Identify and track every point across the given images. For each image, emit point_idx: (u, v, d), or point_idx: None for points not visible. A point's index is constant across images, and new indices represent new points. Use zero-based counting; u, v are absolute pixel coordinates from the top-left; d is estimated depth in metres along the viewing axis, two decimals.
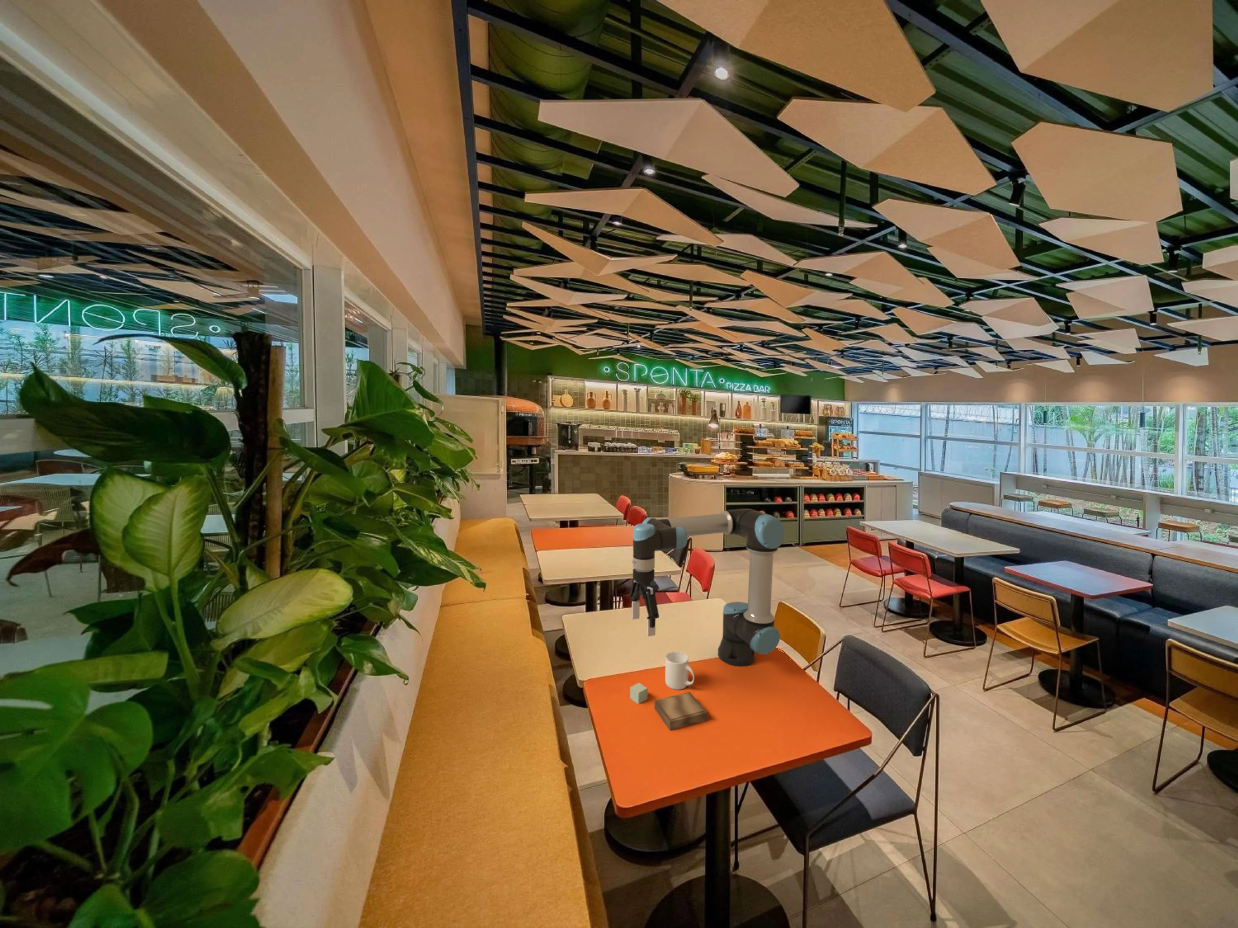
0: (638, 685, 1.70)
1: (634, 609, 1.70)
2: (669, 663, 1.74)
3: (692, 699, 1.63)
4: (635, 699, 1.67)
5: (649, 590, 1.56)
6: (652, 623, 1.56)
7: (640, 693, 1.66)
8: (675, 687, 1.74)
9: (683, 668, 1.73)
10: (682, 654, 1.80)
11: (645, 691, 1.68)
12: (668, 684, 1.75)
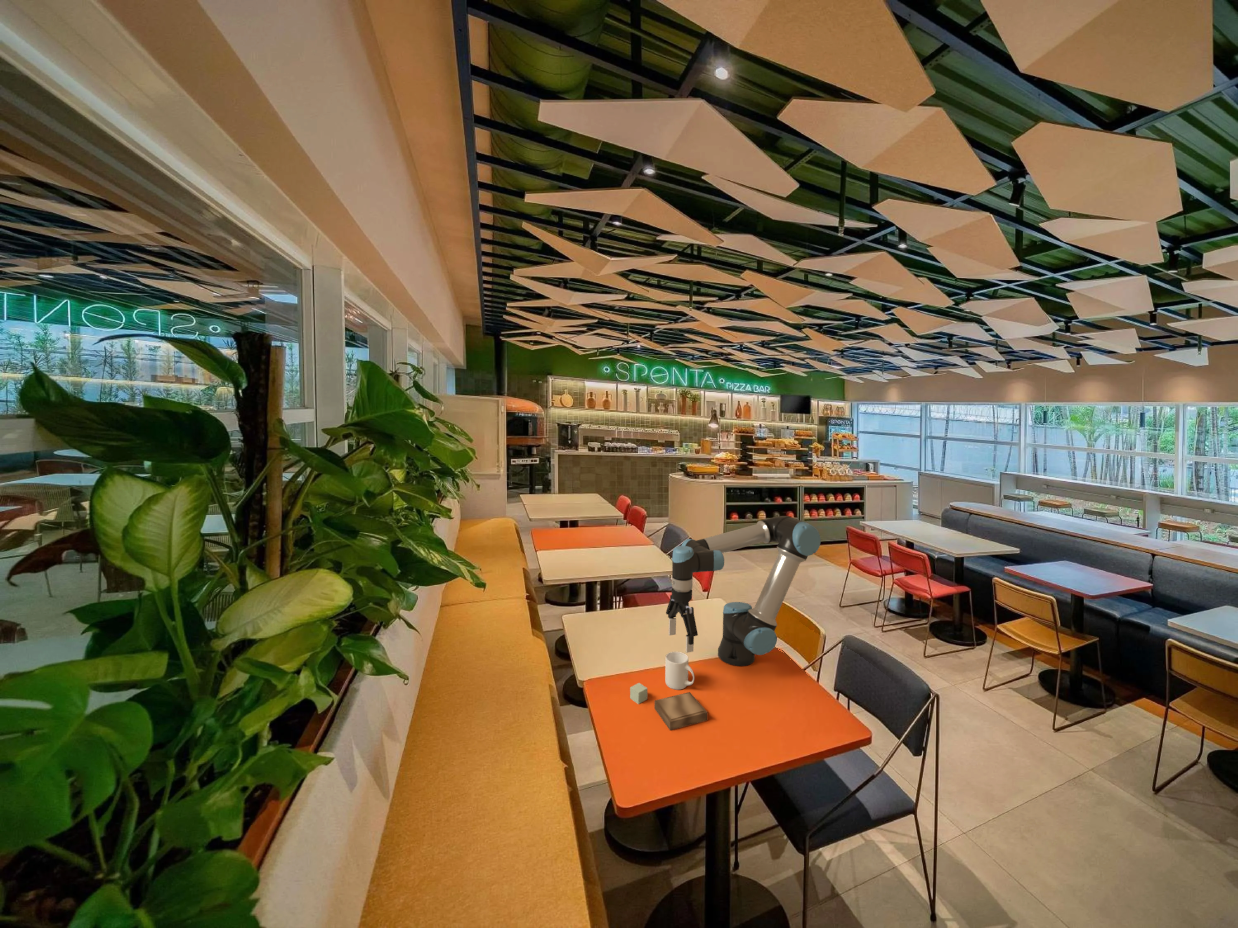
0: (638, 685, 1.70)
1: (671, 625, 1.80)
2: (669, 663, 1.74)
3: (692, 699, 1.63)
4: (635, 699, 1.67)
5: (688, 609, 1.67)
6: (691, 640, 1.66)
7: (640, 693, 1.66)
8: (675, 687, 1.74)
9: (683, 668, 1.73)
10: (682, 654, 1.80)
11: (645, 691, 1.68)
12: (668, 684, 1.75)
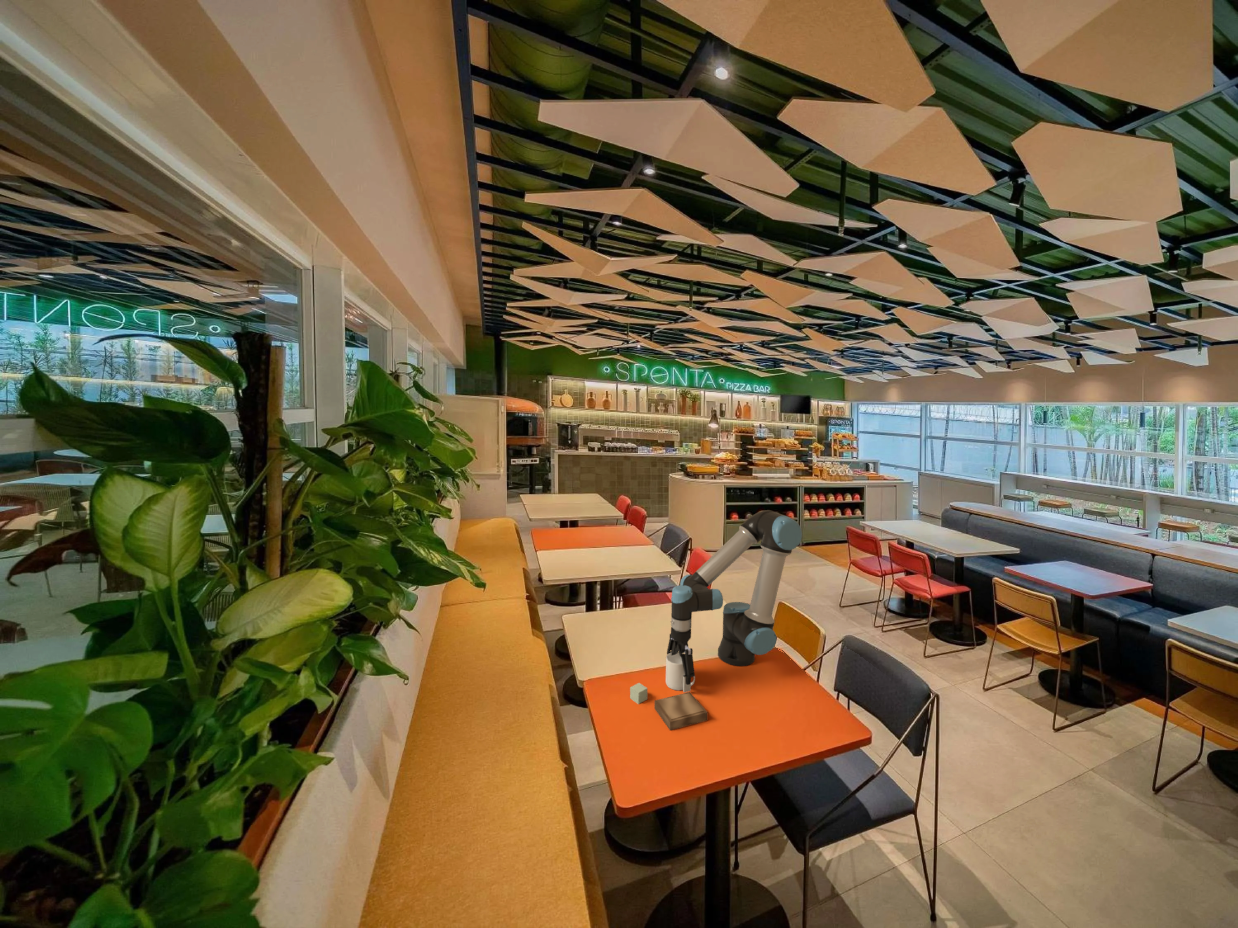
0: (638, 685, 1.70)
1: None
2: (670, 663, 1.73)
3: (692, 699, 1.63)
4: (635, 699, 1.67)
5: (687, 651, 1.68)
6: (688, 680, 1.70)
7: (640, 693, 1.66)
8: (676, 688, 1.73)
9: None
10: None
11: (645, 691, 1.68)
12: (669, 685, 1.75)
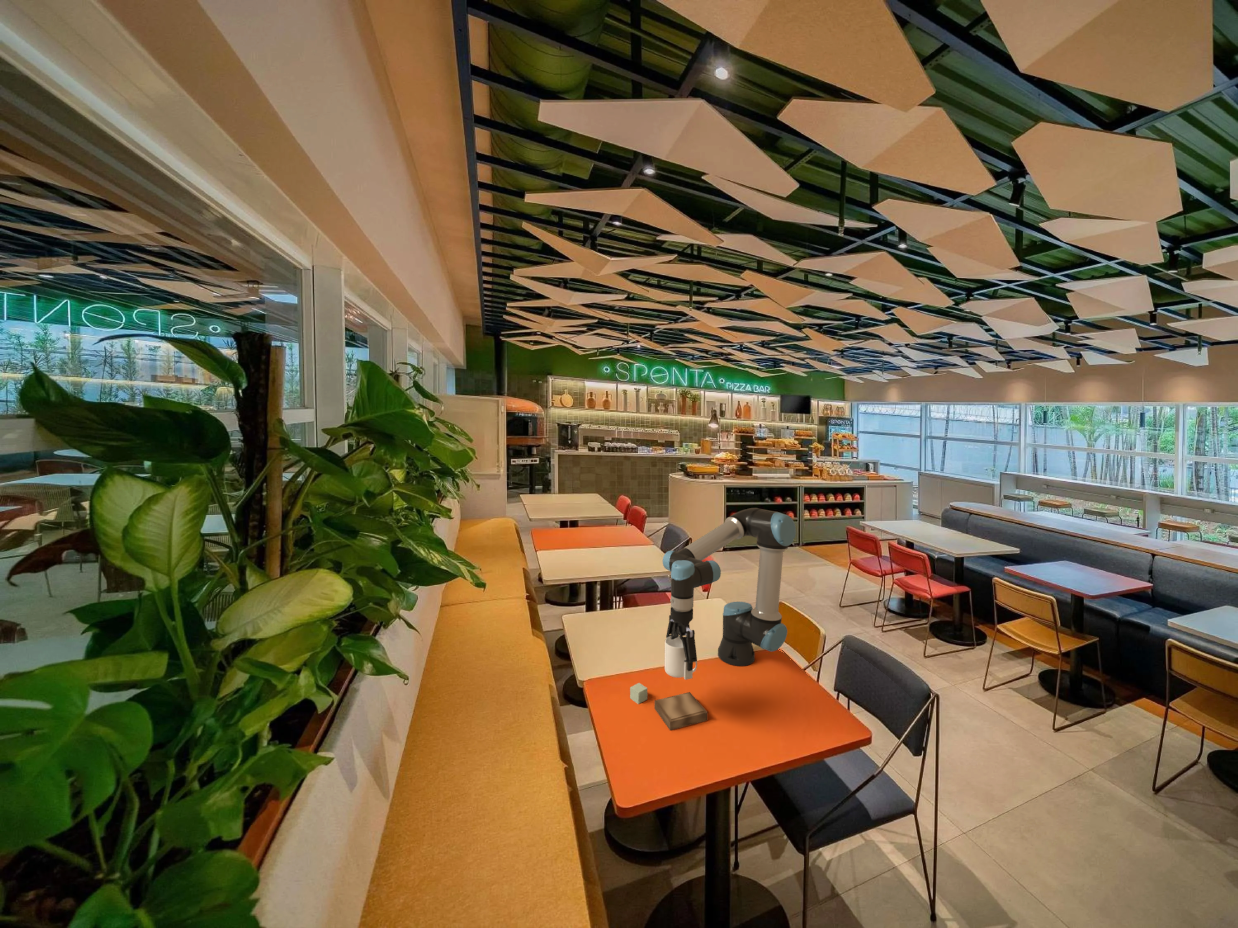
0: (638, 685, 1.70)
1: None
2: (669, 647, 1.55)
3: (692, 699, 1.63)
4: (635, 699, 1.67)
5: (689, 633, 1.50)
6: (690, 666, 1.51)
7: (640, 693, 1.66)
8: (675, 675, 1.55)
9: (684, 653, 1.55)
10: None
11: (645, 691, 1.68)
12: (668, 671, 1.57)
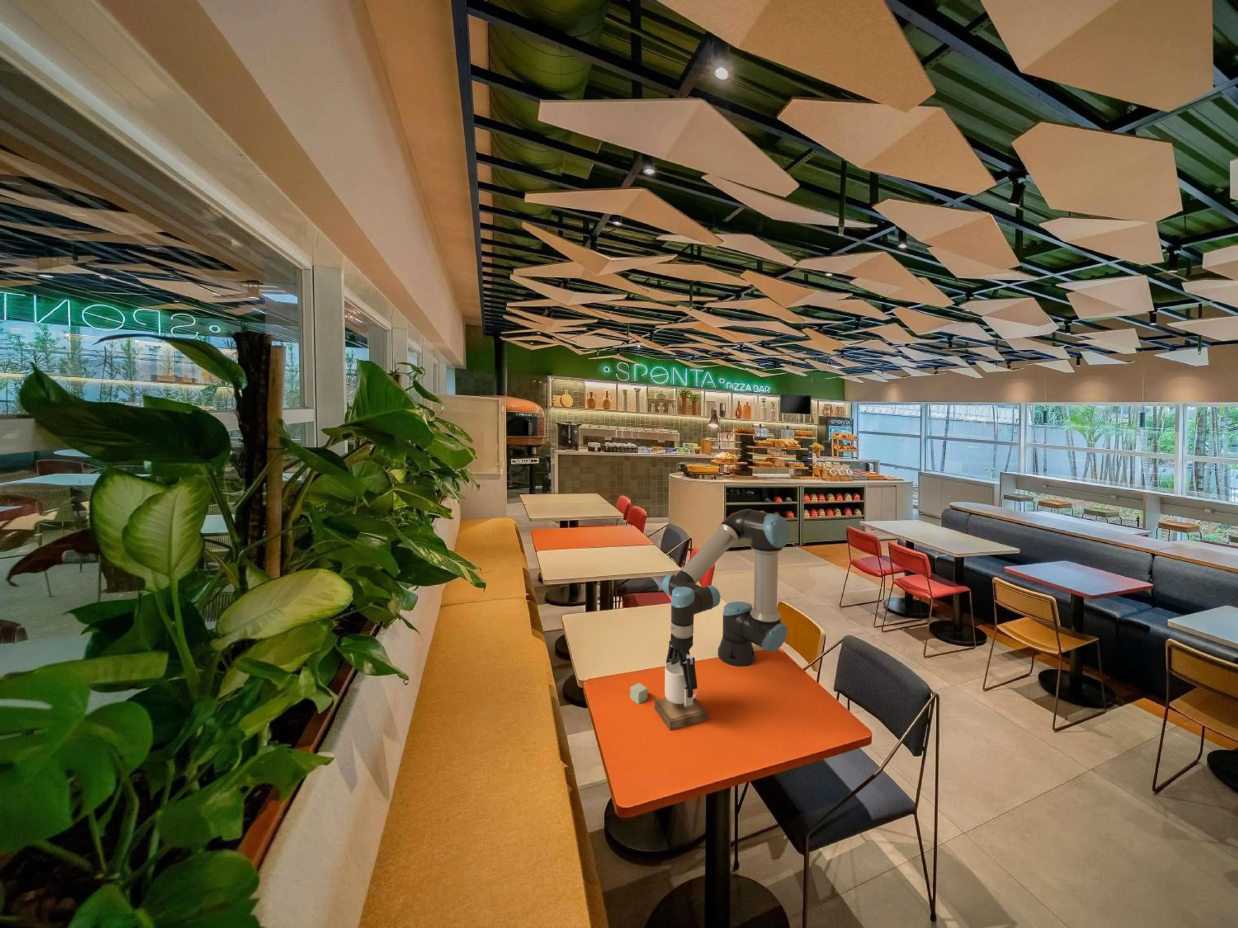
0: (638, 685, 1.70)
1: None
2: (669, 674, 1.56)
3: None
4: (635, 699, 1.67)
5: (689, 660, 1.51)
6: (690, 693, 1.52)
7: (640, 693, 1.66)
8: (676, 701, 1.56)
9: None
10: None
11: (645, 691, 1.68)
12: (668, 698, 1.57)
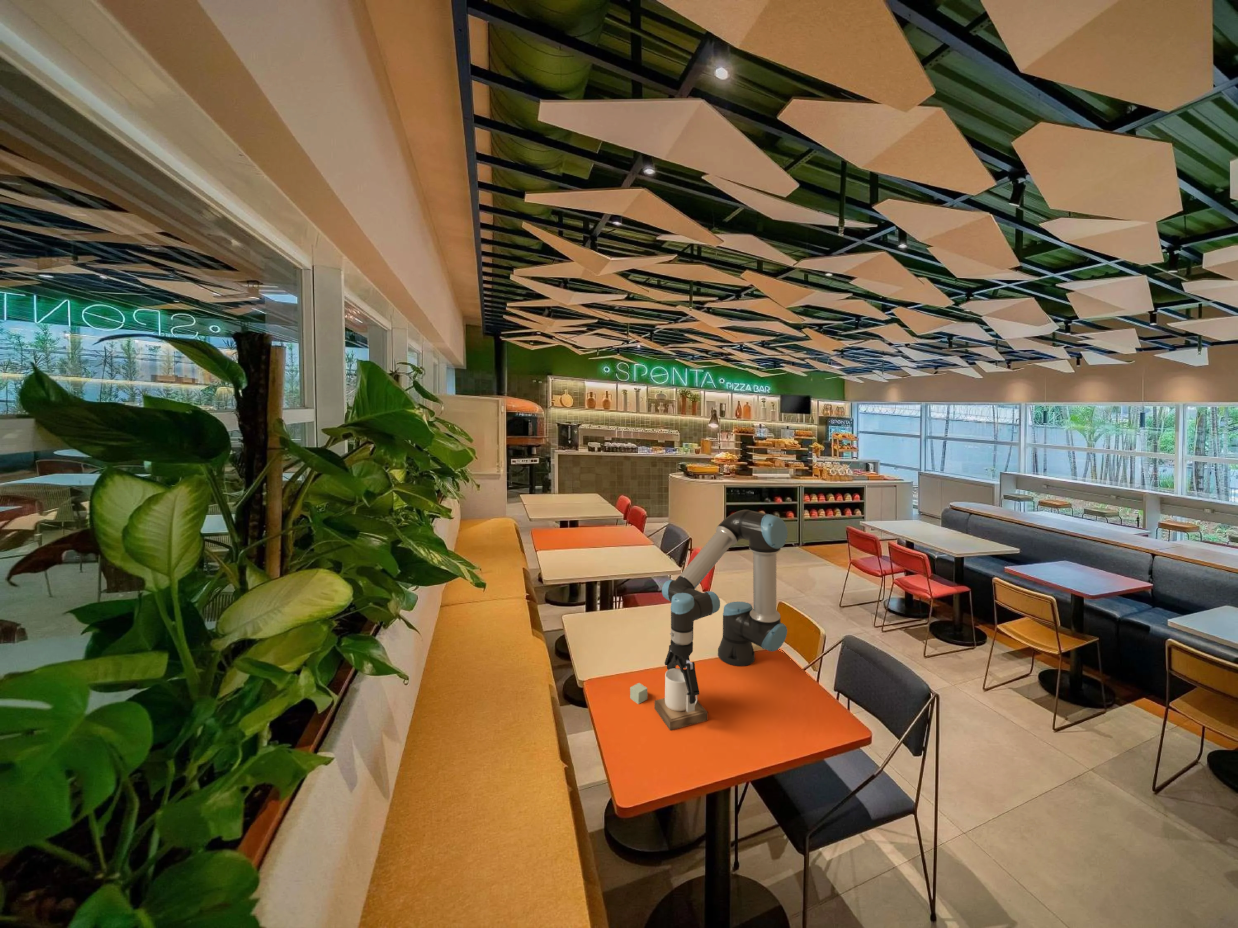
0: (638, 685, 1.70)
1: None
2: (669, 682, 1.56)
3: None
4: (635, 699, 1.67)
5: (689, 665, 1.51)
6: (692, 699, 1.51)
7: (640, 693, 1.66)
8: (676, 708, 1.56)
9: (685, 687, 1.56)
10: None
11: (645, 691, 1.68)
12: (668, 705, 1.58)
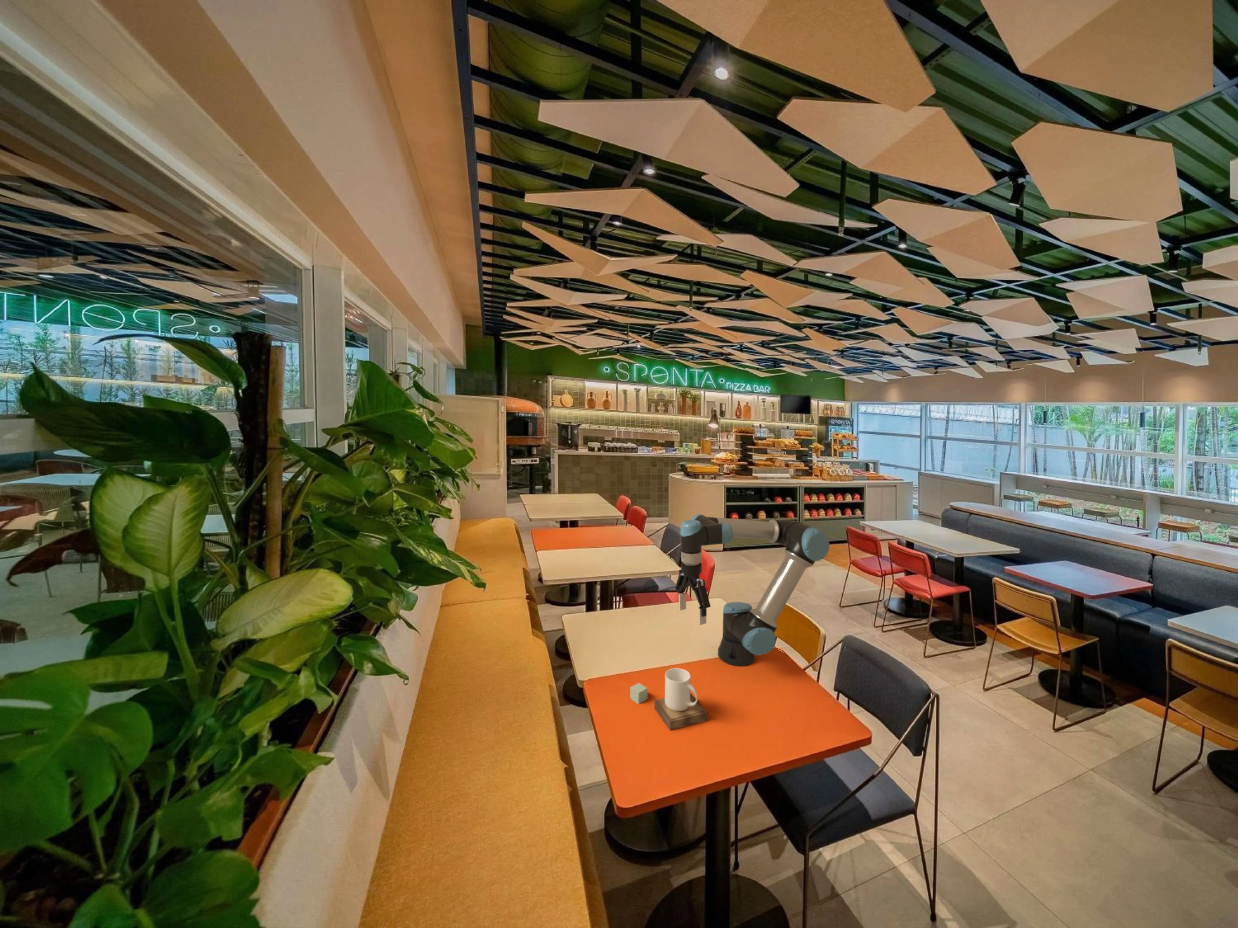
0: (638, 685, 1.70)
1: (681, 600, 1.81)
2: (669, 682, 1.56)
3: (692, 699, 1.63)
4: (635, 699, 1.67)
5: (700, 582, 1.67)
6: (704, 612, 1.67)
7: (640, 693, 1.66)
8: (676, 708, 1.56)
9: (685, 687, 1.56)
10: (683, 671, 1.62)
11: (645, 691, 1.68)
12: (668, 705, 1.58)
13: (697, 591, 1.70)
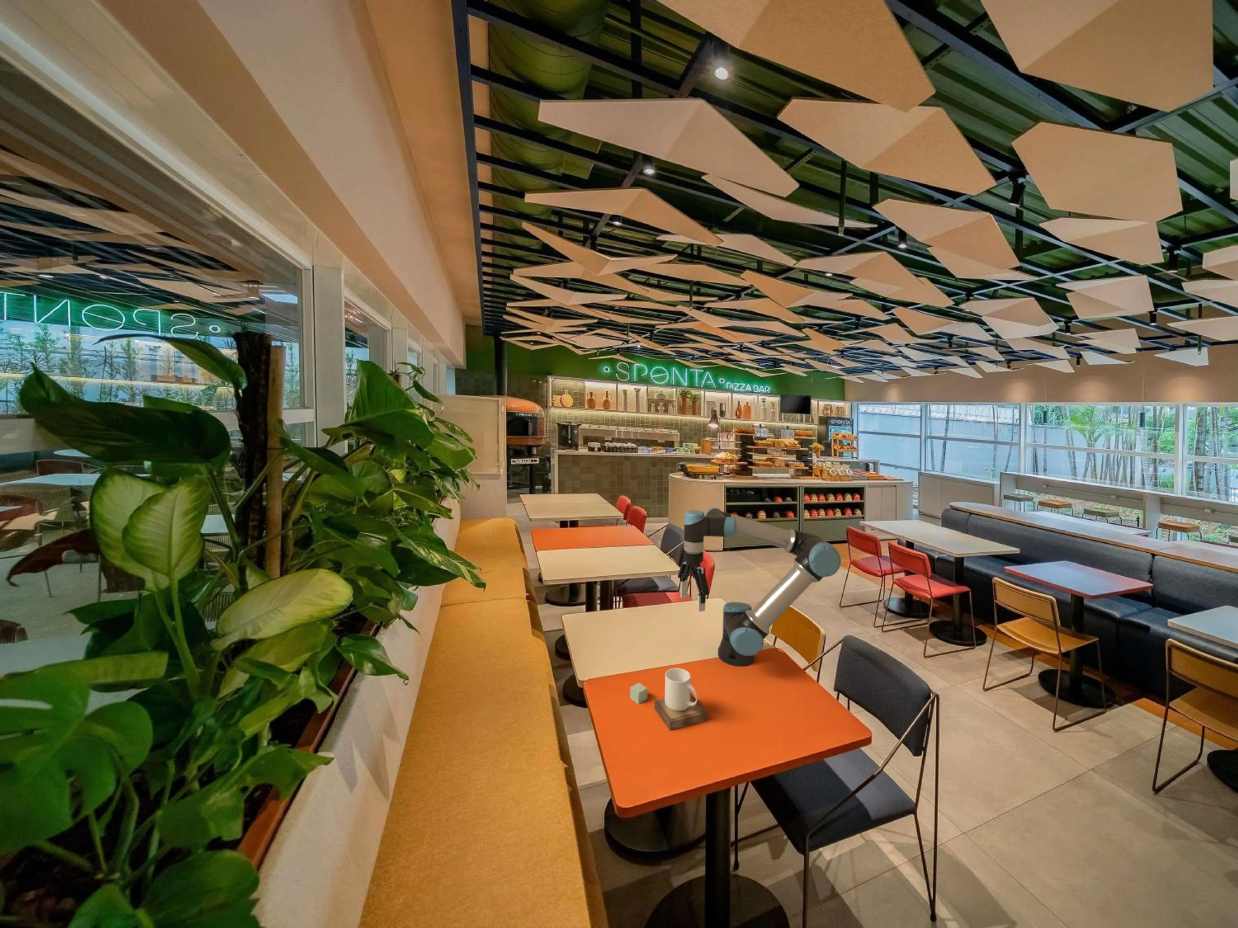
0: (638, 685, 1.70)
1: (683, 588, 1.87)
2: (669, 682, 1.56)
3: (692, 699, 1.63)
4: (635, 699, 1.67)
5: (700, 570, 1.74)
6: (703, 599, 1.74)
7: (640, 693, 1.66)
8: (676, 708, 1.56)
9: (685, 687, 1.56)
10: (683, 671, 1.62)
11: (645, 691, 1.68)
12: (668, 705, 1.58)
13: (697, 579, 1.76)
